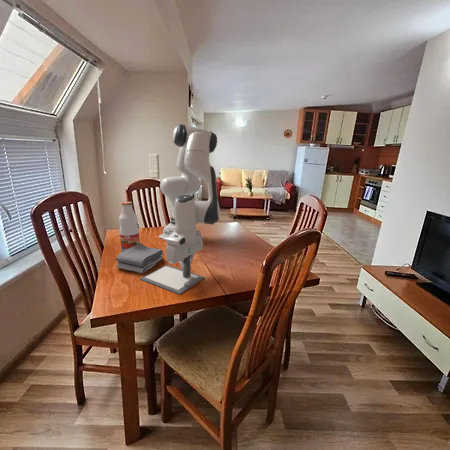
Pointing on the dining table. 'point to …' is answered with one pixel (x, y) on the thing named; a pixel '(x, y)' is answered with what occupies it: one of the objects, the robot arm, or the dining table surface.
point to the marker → (187, 266)
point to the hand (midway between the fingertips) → (186, 265)
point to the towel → (139, 258)
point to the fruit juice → (128, 227)
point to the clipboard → (172, 279)
